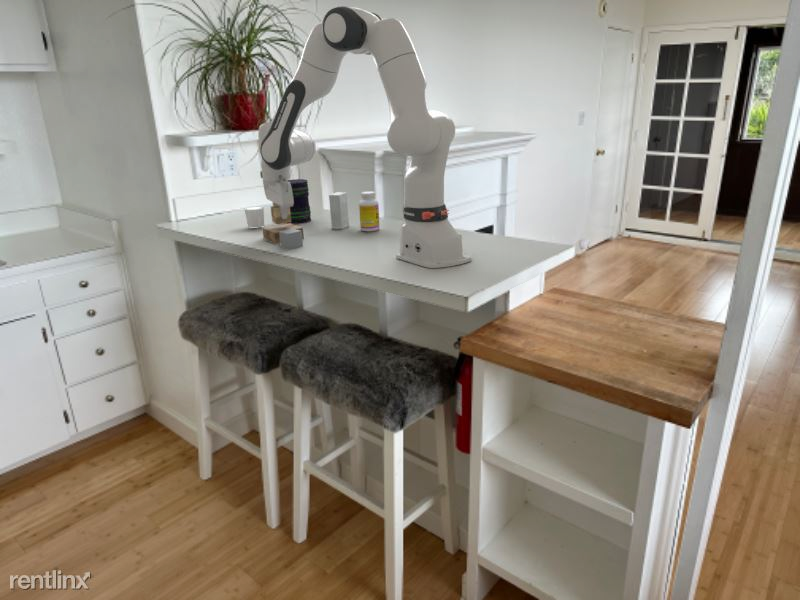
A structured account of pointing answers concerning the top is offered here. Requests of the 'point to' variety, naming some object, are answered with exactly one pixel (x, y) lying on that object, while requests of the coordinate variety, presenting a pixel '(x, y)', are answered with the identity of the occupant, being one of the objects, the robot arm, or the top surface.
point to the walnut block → (273, 231)
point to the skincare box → (339, 210)
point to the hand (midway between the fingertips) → (281, 216)
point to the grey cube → (290, 238)
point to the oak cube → (277, 217)
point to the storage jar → (300, 202)
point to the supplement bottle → (369, 212)
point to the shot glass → (255, 216)
